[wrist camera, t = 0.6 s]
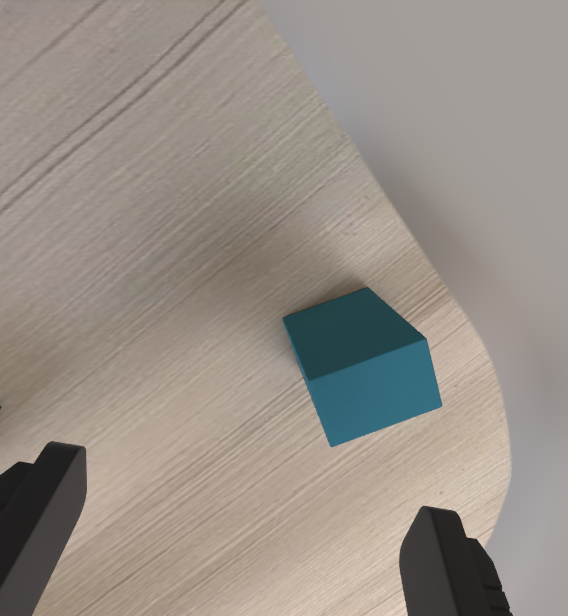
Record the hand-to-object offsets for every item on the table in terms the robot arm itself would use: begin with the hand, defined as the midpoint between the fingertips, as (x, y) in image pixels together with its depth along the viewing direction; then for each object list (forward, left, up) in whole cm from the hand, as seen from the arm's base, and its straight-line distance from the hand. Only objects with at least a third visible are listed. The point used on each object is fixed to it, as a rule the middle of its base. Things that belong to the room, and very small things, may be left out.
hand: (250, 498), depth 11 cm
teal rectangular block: (+5, +5, -19) cm, 21 cm away
